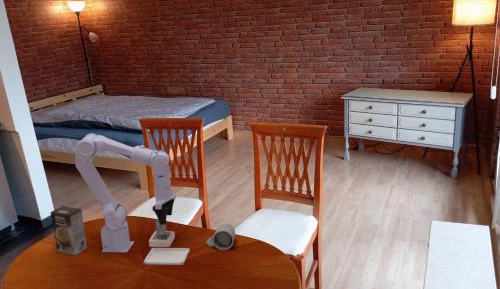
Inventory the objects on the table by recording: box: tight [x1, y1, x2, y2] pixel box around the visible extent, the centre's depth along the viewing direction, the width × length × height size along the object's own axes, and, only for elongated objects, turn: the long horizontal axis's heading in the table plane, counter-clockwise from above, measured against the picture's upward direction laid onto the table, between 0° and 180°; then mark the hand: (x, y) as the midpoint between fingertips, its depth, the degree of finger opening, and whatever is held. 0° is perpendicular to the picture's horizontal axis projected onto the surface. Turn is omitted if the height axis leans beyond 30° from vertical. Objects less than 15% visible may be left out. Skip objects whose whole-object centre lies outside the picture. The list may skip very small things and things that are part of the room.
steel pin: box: [155, 218, 167, 240], centre depth 167 cm, size 4×4×9 cm
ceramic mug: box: [206, 223, 236, 251], centre depth 165 cm, size 11×8×8 cm
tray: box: [142, 247, 191, 266], centre depth 158 cm, size 14×10×1 cm
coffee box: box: [50, 205, 88, 256], centre depth 164 cm, size 9×6×16 cm
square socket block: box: [148, 230, 176, 248], centre depth 168 cm, size 8×8×3 cm
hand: (165, 219), depth 165 cm, fingers open, 7 cm apart
